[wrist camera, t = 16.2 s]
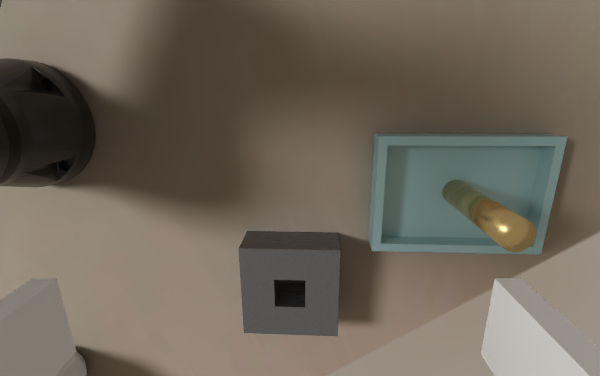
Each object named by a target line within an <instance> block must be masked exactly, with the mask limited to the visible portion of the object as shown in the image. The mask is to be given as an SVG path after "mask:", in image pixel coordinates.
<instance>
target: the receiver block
mask: <svg viewBox="0 0 600 376" xmlns="http://www.w3.org/2000/svg"><path fill="white" fill-rule="evenodd" d="M239 261H240V277H241V293H242V309H243V324H244V333H261V334H290V335H319V336H338V309H339V278H340V244H339V237H338V233H321V232H265V231H247V233H246V235H245V237H244V239H243V241H242V243H241V245H240V247H239ZM279 280H304V281H305V285H298V284H279Z"/></svg>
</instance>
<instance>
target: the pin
mask: <svg viewBox="0 0 600 376" xmlns="http://www.w3.org/2000/svg"><path fill="white" fill-rule="evenodd" d="M442 195H443V198H444V199H445V200H446V201H447V202H448V203H449V204H451V205H452V206H453V207H454V208H455V209H457V210H458V211H459V212H460V213H461V214H463V215H464V216H465V217H466V218H468V219H469V220H470V221H471V222H472V223H474V224H475V225H476V226H477V227H478V228H480V229H481V230H482V231H483V232H484V233H486V234H487V235H488V236H489V237H490V238H492V239H493V240H494V241H495V242H496V243H498V244H499V245H500V246H501V247H502V248H504V249H505V250H507V251H509V252H520V251H523V250H525V249H527V248H529V247H530V246H531V245H532V244H533V242H534V241H535V239H536V234H537V232H536V228H535V226H534V225H533V224H532V223H531V222H530V221H528V220H527V219H525V218H523V217H522V216H520V215H518V214H517V213H515V212H513V211H512V210H510V209H508V208H507V207H505V206H503V205H502V204H500V203H498V202H497V201H495V200H493V199H492V198H490V197H488V196H487V195H485V194H483V193H482V192H480V191H478V190H477V189H475V188H473V187H472V186H470V185H468V184H467V183H465V182H463V181H461V180H451V181H449V182H448V183H447V184H446V185H445V186H444V188H443V191H442Z"/></svg>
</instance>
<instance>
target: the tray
mask: <svg viewBox="0 0 600 376" xmlns="http://www.w3.org/2000/svg"><path fill="white" fill-rule="evenodd" d="M566 142H567V137H566V136H560V135H555V134H549V133H375V136H374V153H373V170H372V187H371V203H370V220H369V237H368V241H369V244H370V247H371V250H372V251H397V252H445V253H493V254H541V253H542V248H543V244H544V239H545V235H546V231H547V226H548V222H549V217H550V213H551V208H552V204H553V199H554V195H555V191H556V186H557V182H558V177H559V173H560V168H561V164H562V159H563V155H564V150H565V146H566ZM451 180H461V181H463V182H465V183H467V184H468V185H470V186H472V187H473V188H475V189H477V190H478V191H480V192H482V193H483V194H485V195H487V196H488V197H490V198H492V199H493V200H495V201H497V202H498V203H500V204H502V205H503V206H505V207H507V208H508V209H510V210H512V211H513V212H515V213H517V214H518V215H520V216H522V217H523V218H525V219H527V220H528V221H530V222H531V223H532V224H533V225H534V226H535V228H536V232H537V234H536V239H535V241H534V242H533V244H532V245H531V246H530V247H529V248H527V249H525V250H523V251H520V252H509V251H507V250H505V249H504V248H502V247H501V246H500V245H499V244H498V243H496V242H495V241H494V240H493V239H492V238H490V237H489V236H488V235H487V234H486V233H484V232H483V231H482V230H481V229H480V228H478V227H477V226H476V225H475V224H474V223H472V222H471V221H470V220H469V219H468V218H466V217H465V216H464V215H463V214H461V213H460V212H459V211H458V210H457V209H455V208H454V207H453V206H452V205H451V204H449V203H448V202H447V201H446V200H445V199H444V198H443V195H442V191H443V188H444V186H445V185H446V184H447V183H448V182H449V181H451Z"/></svg>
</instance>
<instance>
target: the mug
mask: <svg viewBox="0 0 600 376" xmlns="http://www.w3.org/2000/svg"><path fill="white" fill-rule="evenodd" d="M56 376H87V370H86V363H85V360H84V358H83V357H82V356H81V355H80V354H79V353H78V352H77V351H76V353H75V354H74V355H73V356H72V357H71V358H70V360H69V361H68V362H67V363H66V364H65V365H64V366H63V368H62V369H61V370H60V371H59V372H58V373H57V374H56Z"/></svg>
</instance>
